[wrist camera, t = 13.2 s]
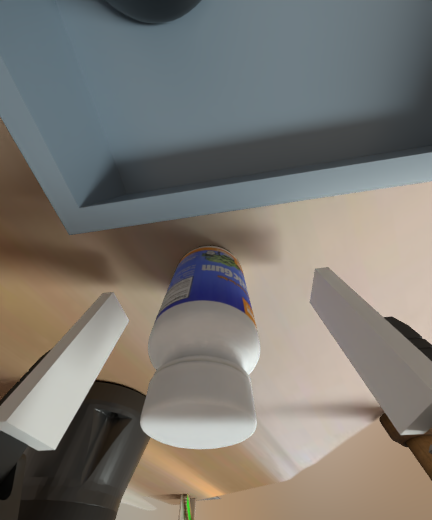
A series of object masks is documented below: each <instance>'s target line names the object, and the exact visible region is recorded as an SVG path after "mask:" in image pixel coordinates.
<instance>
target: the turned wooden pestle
mask: <svg viewBox="0 0 432 520" xmlns="http://www.w3.org/2000/svg"><path fill="white" fill-rule="evenodd" d="M380 422H381V424H382V425H383V427H384V428H385V430H386V431H387V433H388V434H389V436H390V437H391V439H392V440H393V441H395V442H398V443H399V444H401V445H402V446H405V447H409V449H410V450H411V451H412V453H413V454H414V456H415V457H416V459H417V460H418V462H419V463H420V464H421V466H422V467H423V468H424V470H425V472H426V473H427V474H428V475H429V477H430V479H431V480H432V454H431V453H429V447H430V445H431V444H432V427H431V428H430V429H429V430H428V431H427V432H426V433H425V434H414V435H400V434H399V432H398V431H397V429H396V428H395V427H394V425H393V424H392V422H391V421H390V419H389V418H388V416H387V415H386V413H384V414H383V415H382V416H381V417H380Z"/></svg>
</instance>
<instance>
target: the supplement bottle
mask: <svg viewBox="0 0 432 520" xmlns="http://www.w3.org/2000/svg"><path fill="white" fill-rule="evenodd" d="M105 1H106V2H107V3H108V4H109V5H111V6H112V7H113V8H115V9H116V10H117V11H119V12H121V13H122V14H124V15H126V16H128V17H130V18H132V19H135V20H138V21H141V22H146V23H156V24H159V23H167V22H170V21H174V20H176V19H178V18H181V17H182V16H184V15H186V14H187V13H189V12H190V11H191V10H192V9H193V8H195V7H196V6H197V5H198V4H199V3H200V2H201V0H105Z"/></svg>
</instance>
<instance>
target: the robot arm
mask: <svg viewBox="0 0 432 520" xmlns="http://www.w3.org/2000/svg"><path fill="white" fill-rule="evenodd" d="M310 303H311V305H312V306H313V308H314V309H315V311H316V312H317V314H318V315H319V317H320V318H321V320H322V321H323V323H324V324H325V325H326V327H327V328H328V330H329V331H330V333H331V334H332V336H333V337H334V339H335V340H336V342H337V343H338V344H339V346H340V347H341V349H342V350H343V352H344V353H345V355H346V356H347V358H348V359H349V361H350V362H351V364H352V365H353V366H354V368H355V369H356V371H357V372H358V374H359V375H360V377H361V378H362V380H363V381H364V383H365V384H366V386H367V387H368V388H369V390H370V391H371V393H372V394H373V396H374V397H375V399H376V400H377V402H378V403H379V405H380V406H381V407H382V409H383V410H384V412H385V413H386V415H387V416H388V418H389V419H390V421H391V422H392V424H393V425H394V427H395V428H396V429H397V431H398V432H399V434H400V435H414V434H425V433H426V432H427V431H428V430H429V429H430V428H431V427H432V345H431V344H430V343H429V342H428V341H426V340H425V339H422V336H420V335H419V334H418V333H417V332H415V331H414V330H413V329H412V328H411V327H409V326H408V325H406V324H405V323H403V322H401V321H399V320H397V319H396V318H394V317H382V316H381V315H380V314H379V313H378V312H377V311H376V310H375V309H373V308H372V307H371V306H370V305H369V304H368V303H367V302H366V301H365V300H364V299H362V298H361V297H360V296H359V295H358V294H357V293H356V292H355V291H354V290H353V289H351V288H350V287H349V286H348V285H347V284H346V283H345V282H344V281H343V280H341V279H340V278H339V277H338V276H337V275H336V274H335V273H334V272H333V271H332V270H330V269H329V268H328V267H326V268H317V269H315V272H314V279H313V285H312V292H311V298H310ZM128 322H129V320H128V318H127V316H126V314H125V312H124V310H123V309H122V307H121V305H120V303H119V301H118V300H117V298H116V296H115V294H114V292H109V293H102V295H101V296H100V297H99V298H98V299H97V300H96V301H95V302H94V303H93V304H92V306H91V307H90V308H89V309H88V310H87V311H86V312H85V313H84V314H83V315H82V317H81V318H80V319H79V320H78V321H77V322H76V323H75V324H74V325H73V326H72V328H71V329H70V330H69V331H68V332H67V333H66V334H65V335H64V336H63V337H62V339H61V340H60V341H59V342H58V343H57V344H56V345H55V346H54V347H53V348H52V349H51V350H49V351H48V352H47V353H46V354H44V355H43V356H42V357H41V358H39V360H38V361H37V362H36V363H35V364H34V365H33V366H32V367H31V368H30V369H29V372H26V374H25V375H24V376H23V377H22V378H21V379H20V381H19V382H17V383H16V384H15V385H14V386H13V388H12V389H11V390H10V391H9V392H8V393H7V394H6V395H5V396H4V397H3V398H2V399H1V400H0V520H115V519H116V515H117V511H118V508H119V505H120V502H121V499H122V496H123V494H124V492H125V490H126V488H127V486H128V484H129V482H130V479H131V477H132V475H133V473H134V471H135V469H136V467H137V465H138V463H139V461H140V459H141V457H142V454H143V452H144V450H145V448H146V446H147V444H148V442H149V440H150V438H151V437H150V436H148V435H147V434H146V433H145V432H144V431H143V430H142V428H141V425H140V418H141V414H142V410H143V406H144V403H145V399H146V397H145V396H143V395H142V394H140V393H138V392H136V391H133V390H131V389H128V388H125V387H122V386H118V385H114V384H109V383H102V382H94V381H95V379H96V378H97V376H98V374H99V372H100V371H101V369H102V367H103V365H104V364H105V362H106V360H107V359H108V357H109V355H110V353H111V352H112V350H113V348H114V346H115V345H116V343H117V341H118V339H119V338H120V336H121V334H122V332H123V331H124V329H125V327H126V325H127V324H128ZM429 453H431V454H432V444H431V445H430V447H429Z"/></svg>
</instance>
